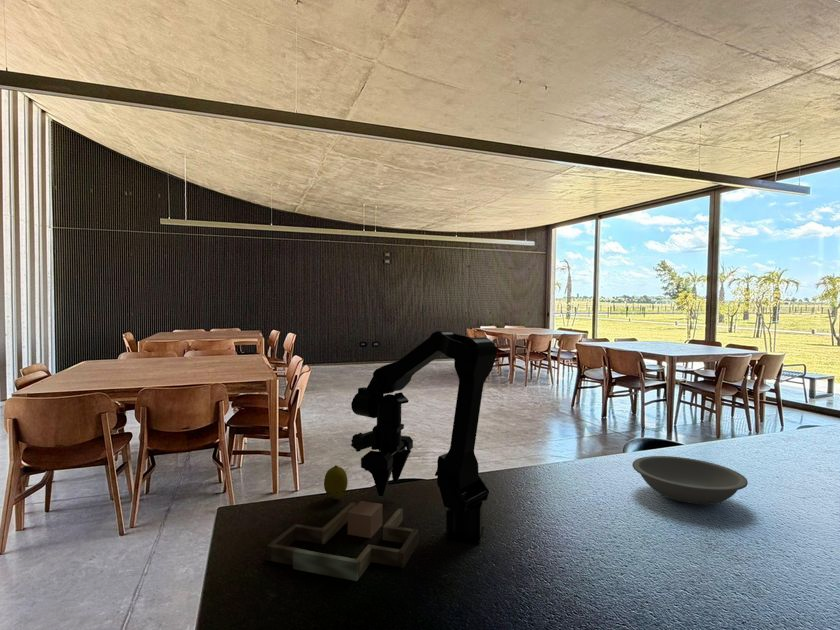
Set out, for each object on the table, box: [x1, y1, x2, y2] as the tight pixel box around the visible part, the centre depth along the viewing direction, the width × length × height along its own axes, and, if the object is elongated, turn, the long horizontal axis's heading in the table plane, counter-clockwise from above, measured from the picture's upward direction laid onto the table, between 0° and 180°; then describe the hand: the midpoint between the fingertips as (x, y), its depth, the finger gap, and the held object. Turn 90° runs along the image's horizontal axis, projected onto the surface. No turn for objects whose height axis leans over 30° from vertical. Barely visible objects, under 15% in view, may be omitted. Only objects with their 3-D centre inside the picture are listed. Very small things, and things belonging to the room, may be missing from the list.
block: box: [347, 500, 383, 539], centre depth 91 cm, size 5×6×4 cm
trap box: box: [266, 501, 420, 582], centre depth 85 cm, size 24×23×3 cm
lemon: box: [323, 465, 349, 500], centre depth 106 cm, size 6×6×8 cm
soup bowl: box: [632, 455, 749, 505], centre depth 108 cm, size 24×24×7 cm
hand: (388, 488), depth 103 cm, fingers open, 9 cm apart
